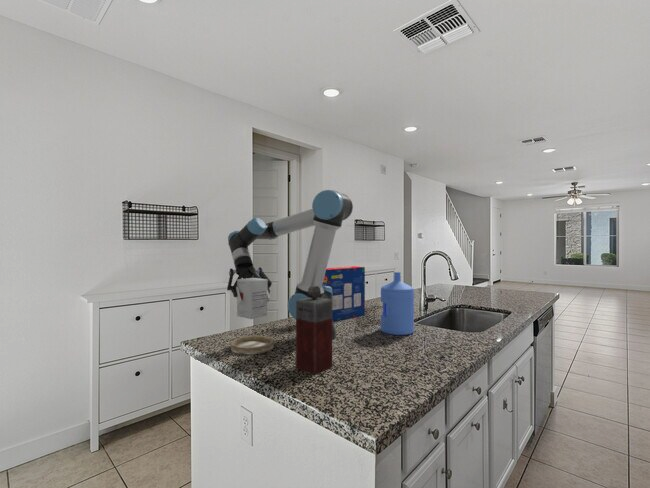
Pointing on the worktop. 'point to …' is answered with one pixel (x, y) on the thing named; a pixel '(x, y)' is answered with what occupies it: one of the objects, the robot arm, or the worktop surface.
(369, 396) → the worktop surface
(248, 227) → the robot arm
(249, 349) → the tan plate
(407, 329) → the water jug
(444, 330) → the worktop surface
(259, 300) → the supplement box
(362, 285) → the blue toy box
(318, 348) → the red square bottle
